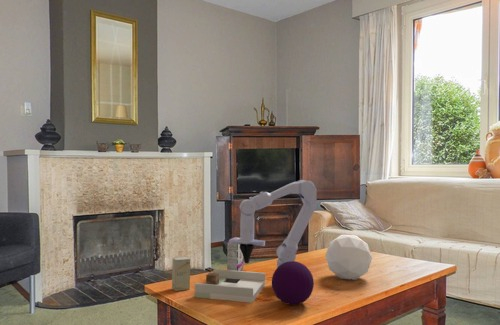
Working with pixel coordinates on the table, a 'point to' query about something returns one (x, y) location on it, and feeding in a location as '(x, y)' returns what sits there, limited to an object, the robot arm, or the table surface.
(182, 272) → the skincare box
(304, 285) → the toy ball
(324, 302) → the table surface
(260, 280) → the board
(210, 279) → the walnut block
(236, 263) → the candy bar box
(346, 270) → the geometric orb
